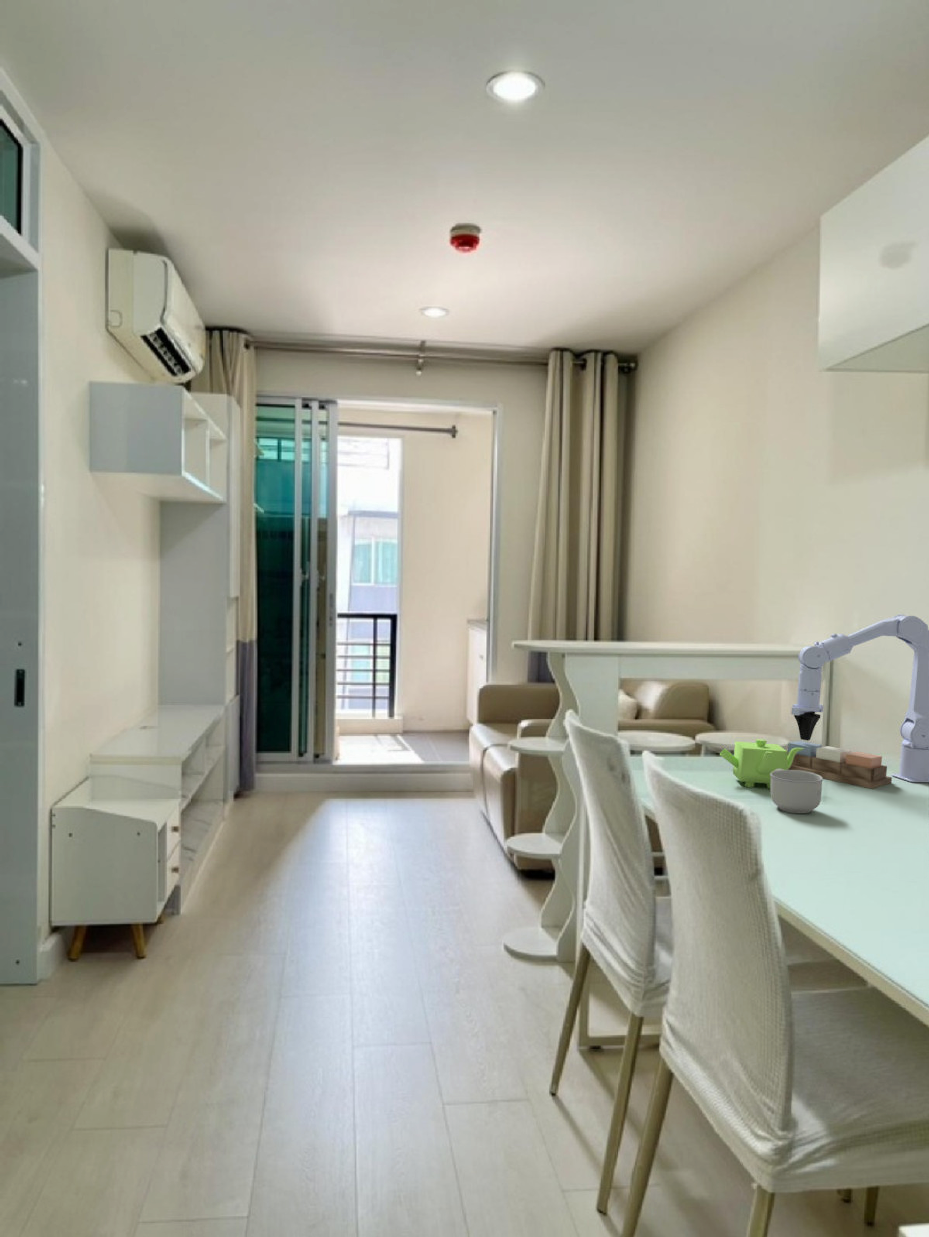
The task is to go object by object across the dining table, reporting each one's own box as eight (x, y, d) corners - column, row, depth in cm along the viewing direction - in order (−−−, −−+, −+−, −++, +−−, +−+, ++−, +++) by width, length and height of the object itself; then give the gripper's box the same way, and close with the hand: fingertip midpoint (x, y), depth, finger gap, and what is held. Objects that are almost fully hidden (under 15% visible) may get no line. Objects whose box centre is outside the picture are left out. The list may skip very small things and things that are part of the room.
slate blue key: (820, 756, 239) (821, 745, 239) (810, 759, 235) (810, 747, 234) (798, 752, 244) (799, 740, 244) (787, 754, 239) (788, 742, 239)
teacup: (827, 818, 188) (830, 781, 188) (777, 815, 188) (779, 778, 188) (804, 801, 202) (806, 767, 201) (756, 798, 202) (759, 764, 202)
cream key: (850, 762, 233) (851, 750, 233) (839, 764, 229) (840, 752, 229) (826, 757, 238) (827, 746, 238) (815, 760, 233) (816, 748, 233)
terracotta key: (881, 768, 227) (882, 756, 227) (870, 771, 223) (871, 758, 223) (856, 763, 232) (857, 751, 232) (845, 766, 228) (846, 753, 227)
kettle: (801, 787, 216) (804, 742, 216) (771, 795, 207) (775, 748, 206) (746, 775, 227) (749, 732, 227) (716, 781, 218) (719, 736, 217)
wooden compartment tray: (891, 783, 228) (892, 765, 228) (872, 788, 220) (873, 770, 220) (796, 763, 247) (797, 747, 247) (775, 768, 239) (776, 751, 239)
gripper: (807, 687, 246) (803, 735, 247) (782, 689, 236) (778, 739, 237) (832, 690, 241) (828, 739, 242) (807, 693, 231) (803, 744, 232)
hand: (805, 739), depth 239 cm, fingers closed
